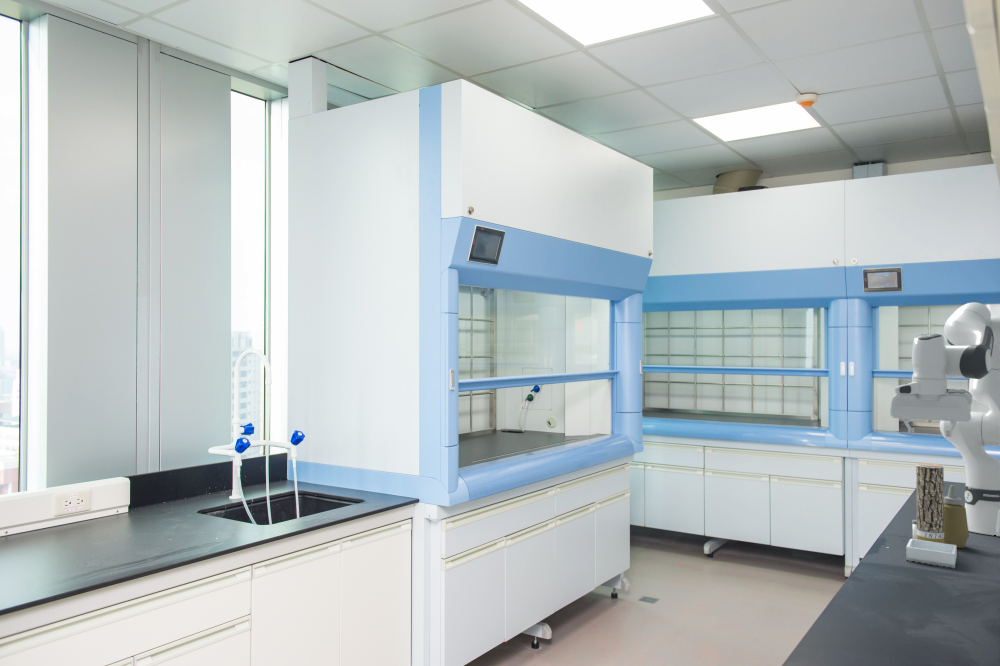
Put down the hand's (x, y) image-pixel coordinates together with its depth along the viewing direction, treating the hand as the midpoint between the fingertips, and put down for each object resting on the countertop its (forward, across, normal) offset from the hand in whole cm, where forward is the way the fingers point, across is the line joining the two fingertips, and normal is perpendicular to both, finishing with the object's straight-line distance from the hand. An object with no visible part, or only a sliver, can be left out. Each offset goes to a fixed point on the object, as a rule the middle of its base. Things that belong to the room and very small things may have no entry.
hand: (929, 435), depth 202 cm
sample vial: (+34, +4, -11) cm, 36 cm away
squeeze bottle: (+34, -5, -10) cm, 36 cm away
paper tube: (+34, 0, 0) cm, 34 cm away
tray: (+34, -1, +12) cm, 36 cm away
